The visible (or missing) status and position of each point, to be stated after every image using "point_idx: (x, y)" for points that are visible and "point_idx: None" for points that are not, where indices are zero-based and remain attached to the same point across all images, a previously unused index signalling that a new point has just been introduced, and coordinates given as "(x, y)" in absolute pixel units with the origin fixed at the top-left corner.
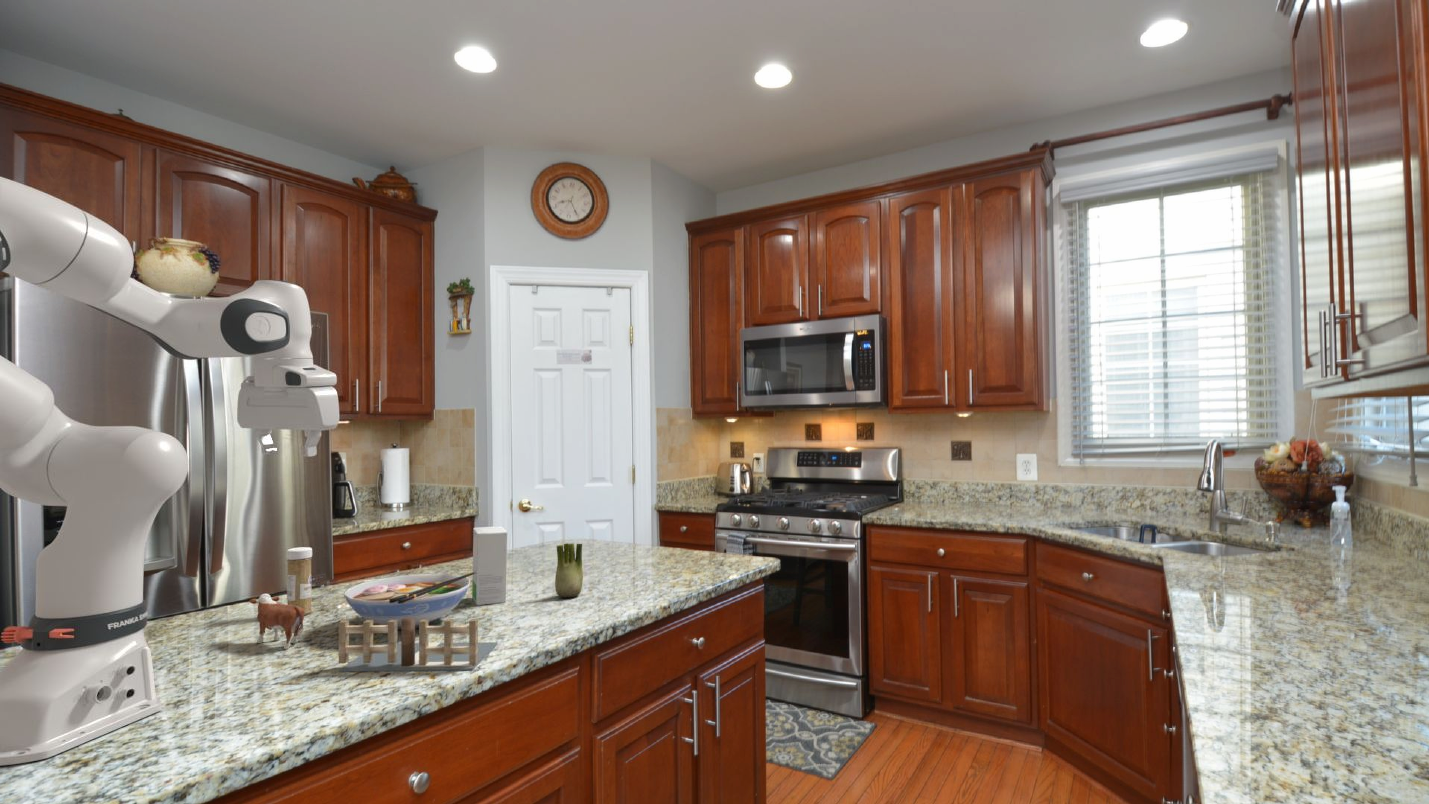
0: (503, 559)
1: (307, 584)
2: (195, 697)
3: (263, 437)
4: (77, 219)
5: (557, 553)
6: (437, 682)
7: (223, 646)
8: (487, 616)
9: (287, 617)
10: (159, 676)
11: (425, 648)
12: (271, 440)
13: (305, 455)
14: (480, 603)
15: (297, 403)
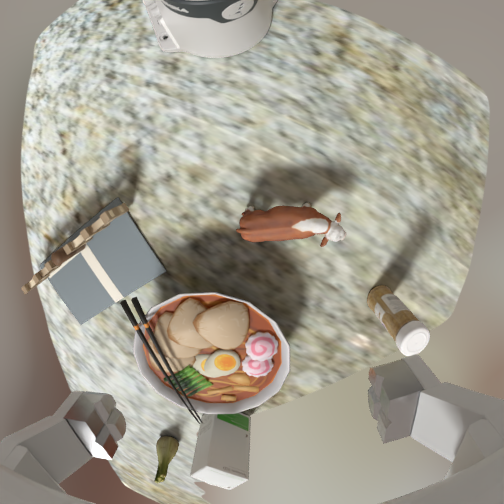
0: (196, 450)
1: (381, 319)
2: (171, 79)
3: (457, 426)
4: None
5: (165, 468)
6: (36, 231)
7: (333, 176)
8: None
9: (245, 215)
10: (279, 85)
11: None
12: (425, 443)
13: (89, 392)
14: None
15: None
